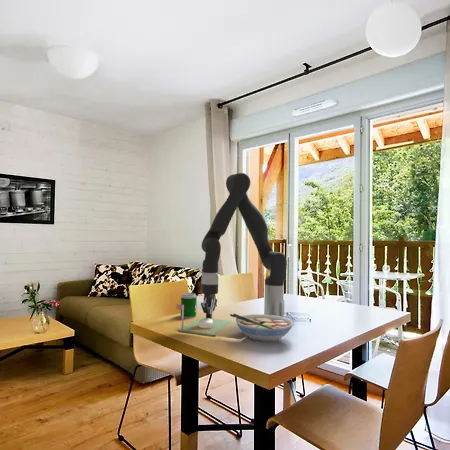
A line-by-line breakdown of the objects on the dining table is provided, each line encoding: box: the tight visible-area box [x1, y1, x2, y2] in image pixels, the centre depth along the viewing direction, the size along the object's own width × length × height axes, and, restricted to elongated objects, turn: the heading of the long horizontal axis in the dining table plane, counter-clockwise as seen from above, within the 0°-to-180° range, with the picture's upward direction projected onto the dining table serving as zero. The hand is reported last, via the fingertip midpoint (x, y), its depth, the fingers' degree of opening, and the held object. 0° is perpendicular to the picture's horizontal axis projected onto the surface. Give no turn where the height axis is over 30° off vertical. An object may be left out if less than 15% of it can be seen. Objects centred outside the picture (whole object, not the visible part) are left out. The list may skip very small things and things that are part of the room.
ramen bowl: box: [229, 313, 294, 343], centre depth 138 cm, size 25×23×8 cm
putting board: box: [176, 303, 234, 338], centre depth 153 cm, size 18×24×11 cm
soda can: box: [180, 292, 198, 319], centre depth 169 cm, size 8×8×12 cm
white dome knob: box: [198, 317, 214, 329], centre depth 150 cm, size 6×6×2 cm
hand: (208, 322), depth 155 cm, fingers closed
